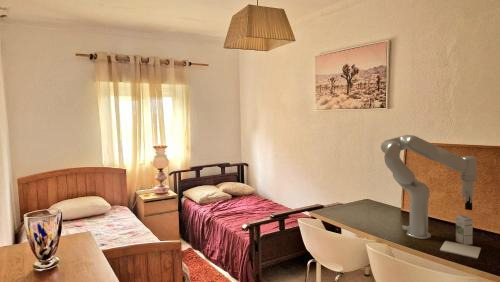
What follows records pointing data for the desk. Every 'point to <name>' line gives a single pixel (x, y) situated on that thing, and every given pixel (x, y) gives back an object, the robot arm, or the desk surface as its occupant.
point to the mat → (461, 249)
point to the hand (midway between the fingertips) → (468, 209)
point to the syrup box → (464, 229)
